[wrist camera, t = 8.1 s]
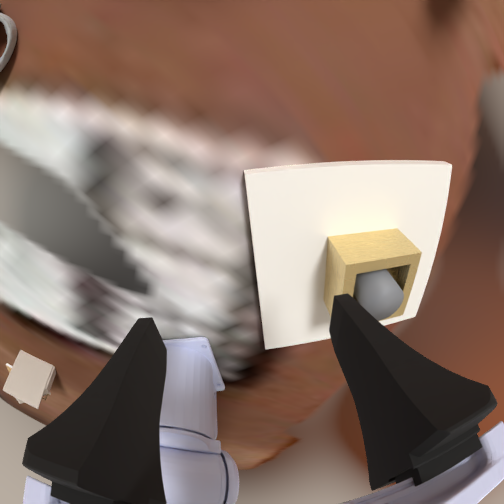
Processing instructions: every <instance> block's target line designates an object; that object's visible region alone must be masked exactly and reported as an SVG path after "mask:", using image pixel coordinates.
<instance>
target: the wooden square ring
mask: <svg viewBox="0 0 504 504" xmlns="http://www.w3.org/2000/svg"><path fill="white" fill-rule="evenodd" d="M421 254H422V252H421V251H420V250H419V249H418V248H417V247H416V246H415V245H414V244H413V243H412V242H411V241H410V240H409V239H408V238H407V237H406V236H405V235H404V234H403V233H402V232H401V231H400V230H399V229H398V228H395V229H386V230H378V231H370V232H361V233H353V234H344V235H336V236H328V240H327V257H326V272H325V284H324V296H323V300H324V303H325V305H326V307H327V310H328V312H329V314H330V317H331V313H332V306H333V299H334V296H335V295H341V294H347V293H348V294H349V295H351V296H352V297H353V298H354V299H355V300H356V301H357V299H356V297H355V295H354V294H353V292H354V286H355V280H356V274H359V273H365V272H370V271H376V270H382V269H387V271H388V272H389V273H390V275H391V276H392V277H393V279H394V280H395V281H396V283H397V284H398V285H399V287H400V288H401V289H402V291H403V293H404V299H403V302H402V304H401V306H400V307H399V308H398V310H397V311H396V312H395V313H393V314H392V315H391V316H389V317H388V318H386V319H390V318H394V317H398V316H401V315H403V314H404V311H405V308H406V305H407V302H408V299H409V296H410V293H411V290H412V287H413V283H414V280H415V277H416V273H417V270H418V266H419V262H420V258H421ZM357 302H358V301H357ZM386 319H383V320H386ZM379 321H382V320H379Z"/></svg>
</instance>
